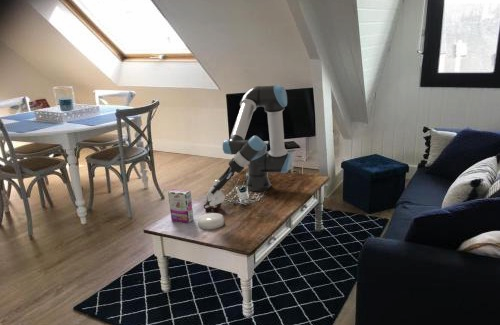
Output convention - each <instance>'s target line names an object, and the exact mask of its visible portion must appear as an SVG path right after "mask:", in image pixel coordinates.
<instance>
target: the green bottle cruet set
mask: <svg viewBox="0 0 500 325" xmlns="http://www.w3.org/2000/svg"><path fill="white" fill-rule="evenodd" d="M210 202H211V201H208V197H207V196H206V202H205V204H204V205H203V209H204V210H205V212H206V213H219V212H220V210H221V209H222V204H223V202H222V203H220V204H217V205H214V206H216V207H214V206H210V204H209V203H210ZM212 211H213V212H212Z"/></svg>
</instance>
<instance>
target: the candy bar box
mask: <svg viewBox="0 0 500 325" xmlns="http://www.w3.org/2000/svg"><path fill="white" fill-rule="evenodd" d="M191 193H192V192H191V191H190V190H183V189H171V190H170V191H168V193H167V194H168V202H169V210H170V219H171V222H177V223H178V222H179V223H185V224H190V223H191V222H192V221H194V214H193V213H194V212H193V211H194V210H193V203H192V194H191Z"/></svg>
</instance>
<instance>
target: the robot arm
mask: <svg viewBox="0 0 500 325" xmlns="http://www.w3.org/2000/svg"><path fill="white" fill-rule="evenodd" d="M287 94H288V93H287V91H286V89H285V87H284V86H282V85H263V86H262V85H257V86H254V87H251V88H250V89H248V91H246V92H245V93H244V95H243V96H242V98H241V100H240V102H239V106H240V108H239V111H238V114H237V117H236V119H235V122H234V125H233V128H232V131H231V134H230V137H229V139H224V140H223V142H222V151H223V153H224V154H226V155H234V156H233V157H232V158H231V159H230V160H229V162H228V167H227V169H226V170H225V171H224V172H223V173H222V174H221V176H220V177H219V178H218V179H219V180H220V181H219V182H218V183H217V185H216V186H215V185H214V187H213V186H211V188H210V189H209V190H208V191H207V193H206V195H205V197H206V198H207V197H208V198H209V199H211V198H212V197H213V195H214V194H215V193H216V192H217V191H219V190H220V189H221V190H222V188H223V187H224V186H225V185H226V184H227V183H228V182H230V180H231V179H232V177H234V175H235V173H237V174H240V173H242V171H243V170H244V169H245V168H246V167H247V169H248V170H247V172H248V177H247V181H246V184H245V185H246V186H245V187H247V186H248V189H249V191H252V192H263V191H267V190H268V189H269V190H270V188H271V182H270V179H269V175H268V173H275V174H276V173H277V174H278V173H279V174H286V173H288V172H289V171H290V168H291V161H292V155H291V154H290V153H289V152H288V151H289V150H288V149H286V147H285V132H284V131H285V130H284V119H283V118H284V117H283V111H284V110H285V107H287V106H288V95H287ZM259 107H260V108H261V107H262V108H264V112H265V113H266V114H267V125H268V134H269V135H268V136H269V145H270V146H269V147H270V150H268V145H267V143H266V142H265V141H264V140H262V138H260V137H259V136H258V135H253V136H251V137H250V138H249V139H247V140H246V139H245V138H246V137H247V136H246V135H247V132H248V129H249V126H250V124H251V120H252V118H253V117H252V116H253V114H254V112H255V111H256V110H257V108H259ZM267 151H268V152H267ZM248 189H247V190H248Z"/></svg>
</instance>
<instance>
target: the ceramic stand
mask: <svg viewBox="0 0 500 325" xmlns="http://www.w3.org/2000/svg"><path fill="white" fill-rule="evenodd" d="M224 224H225V220H224V215H223V214H222V213H219V212H217V213H214V212H206V213H204V214H202V215H200V216H199V217H198V219H197V227H198V228H200V229H202V230H215V229H218V228H221V227H223V226H224Z"/></svg>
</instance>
